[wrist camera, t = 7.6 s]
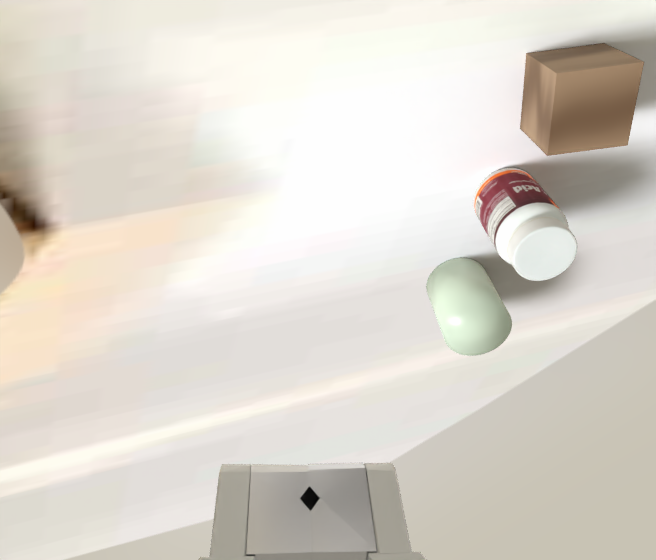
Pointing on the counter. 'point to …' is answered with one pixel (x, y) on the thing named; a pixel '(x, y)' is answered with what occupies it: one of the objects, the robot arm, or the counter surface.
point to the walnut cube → (579, 98)
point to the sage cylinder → (468, 307)
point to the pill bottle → (524, 224)
